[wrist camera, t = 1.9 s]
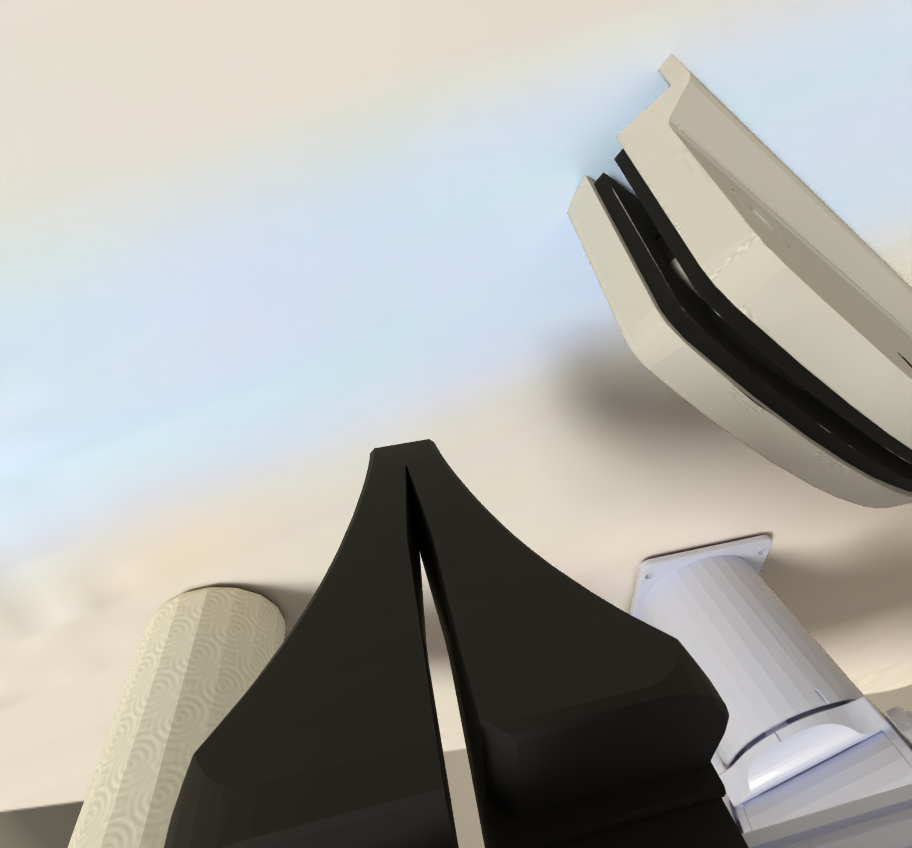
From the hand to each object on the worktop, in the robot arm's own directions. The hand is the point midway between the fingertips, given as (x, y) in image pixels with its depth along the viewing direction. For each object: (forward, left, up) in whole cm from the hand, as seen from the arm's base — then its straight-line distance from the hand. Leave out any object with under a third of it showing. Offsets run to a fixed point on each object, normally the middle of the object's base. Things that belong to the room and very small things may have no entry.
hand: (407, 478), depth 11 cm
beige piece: (0, -14, -8) cm, 16 cm away
